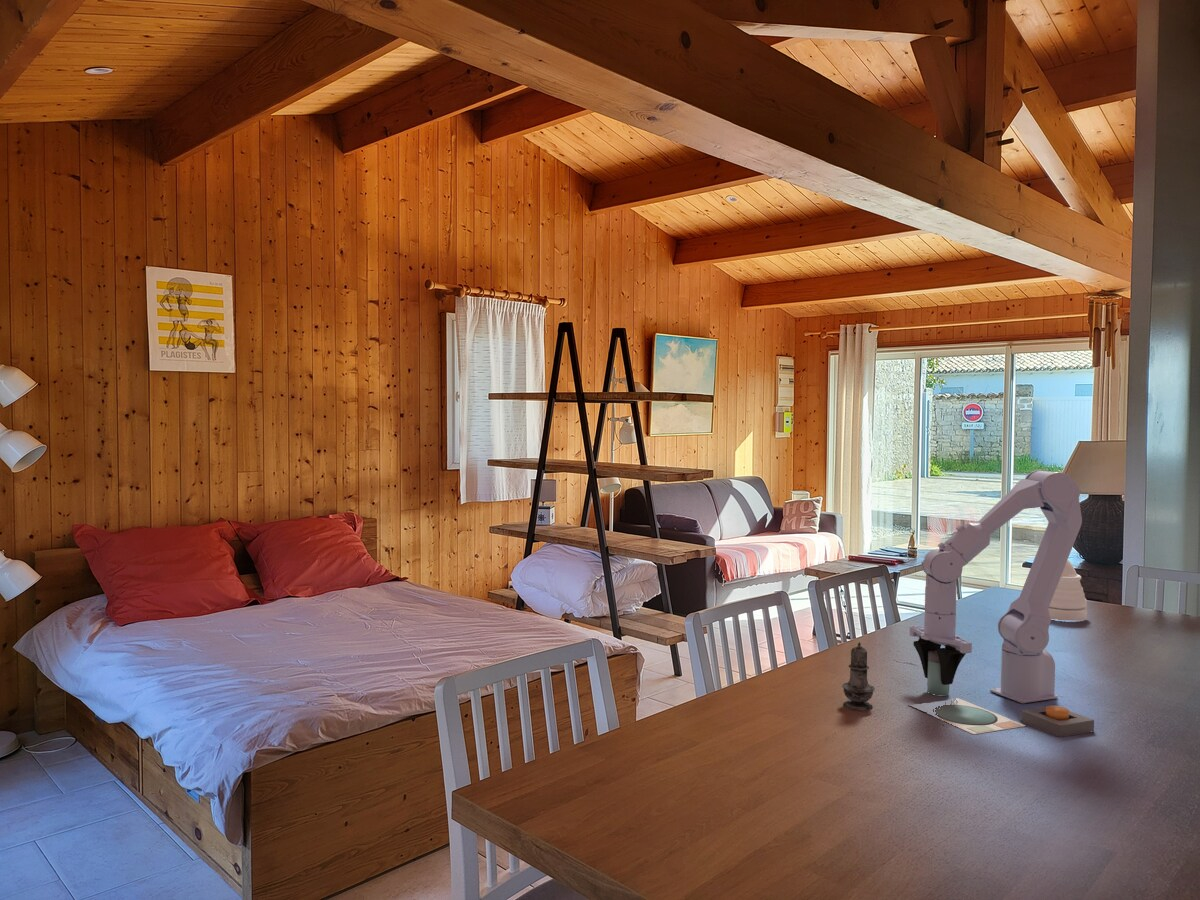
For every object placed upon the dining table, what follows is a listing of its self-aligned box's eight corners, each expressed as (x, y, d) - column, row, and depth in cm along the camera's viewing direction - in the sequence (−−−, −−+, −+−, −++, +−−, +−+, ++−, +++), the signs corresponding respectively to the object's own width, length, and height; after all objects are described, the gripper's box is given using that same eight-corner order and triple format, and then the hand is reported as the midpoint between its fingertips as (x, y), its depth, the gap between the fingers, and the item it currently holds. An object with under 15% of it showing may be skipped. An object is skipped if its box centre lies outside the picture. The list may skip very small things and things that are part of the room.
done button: (1055, 713, 155) (1056, 704, 155) (1073, 720, 152) (1074, 711, 152) (1040, 715, 154) (1041, 706, 154) (1058, 722, 150) (1058, 713, 150)
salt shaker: (876, 712, 159) (877, 647, 158) (842, 709, 160) (844, 645, 160) (872, 702, 165) (874, 639, 164) (840, 699, 166) (841, 637, 165)
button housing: (1054, 716, 158) (1054, 705, 158) (1093, 731, 150) (1094, 719, 150) (1021, 721, 155) (1021, 710, 155) (1059, 737, 147) (1060, 725, 147)
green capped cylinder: (938, 688, 173) (939, 649, 173) (953, 694, 170) (954, 654, 169) (922, 691, 172) (923, 650, 172) (937, 697, 168) (938, 656, 168)
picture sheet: (957, 698, 167) (957, 697, 167) (1026, 726, 153) (1026, 725, 153) (907, 705, 163) (907, 704, 163) (973, 734, 148) (973, 733, 148)
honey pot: (1042, 621, 234) (1044, 554, 233) (1027, 611, 246) (1029, 547, 246) (1094, 623, 232) (1096, 556, 231) (1076, 613, 244) (1078, 549, 244)
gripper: (898, 605, 175) (896, 672, 176) (952, 621, 162) (950, 693, 162) (925, 603, 178) (924, 669, 179) (981, 618, 165) (979, 689, 165)
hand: (938, 680), depth 171 cm, fingers closed on green capped cylinder, 4 cm apart
